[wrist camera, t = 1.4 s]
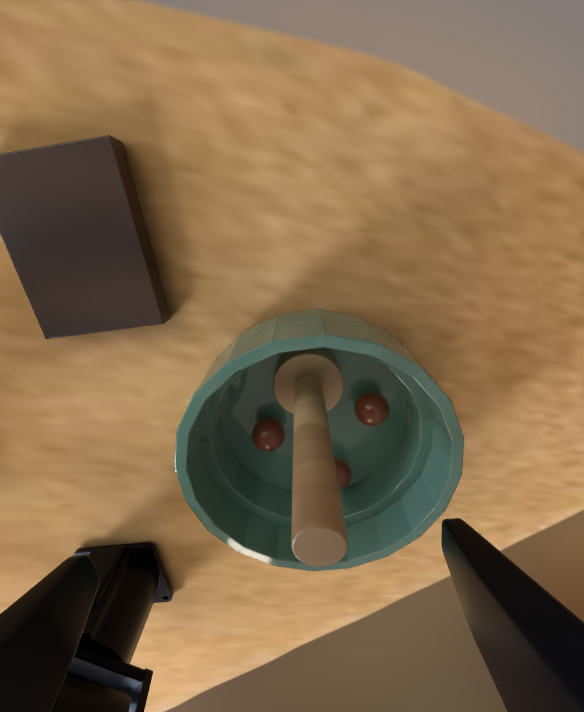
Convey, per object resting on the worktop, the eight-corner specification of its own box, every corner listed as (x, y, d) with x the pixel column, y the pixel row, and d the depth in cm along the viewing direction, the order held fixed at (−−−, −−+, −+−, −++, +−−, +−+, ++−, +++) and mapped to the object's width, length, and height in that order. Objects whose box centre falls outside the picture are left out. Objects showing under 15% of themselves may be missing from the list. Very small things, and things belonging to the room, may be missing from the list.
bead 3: (385, 412, 20) (393, 431, 18) (352, 416, 20) (358, 434, 19) (383, 384, 20) (392, 400, 18) (350, 387, 20) (356, 404, 18)
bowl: (422, 487, 23) (457, 560, 18) (229, 506, 24) (211, 579, 19) (423, 291, 18) (472, 315, 13) (180, 323, 19) (137, 358, 14)
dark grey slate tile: (171, 318, 19) (163, 323, 18) (59, 333, 20) (45, 339, 18) (122, 141, 16) (109, 134, 15) (-11, 163, 16) (-33, 159, 15)
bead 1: (287, 436, 21) (286, 456, 19) (257, 439, 21) (253, 460, 19) (283, 410, 20) (281, 428, 18) (251, 413, 20) (246, 431, 19)
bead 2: (350, 473, 22) (355, 496, 20) (320, 476, 22) (322, 499, 20) (347, 449, 21) (352, 470, 19) (317, 452, 21) (319, 474, 20)
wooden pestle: (343, 403, 20) (394, 590, 10) (279, 410, 20) (261, 600, 10) (338, 342, 19) (390, 485, 8) (269, 351, 19) (235, 499, 8)
